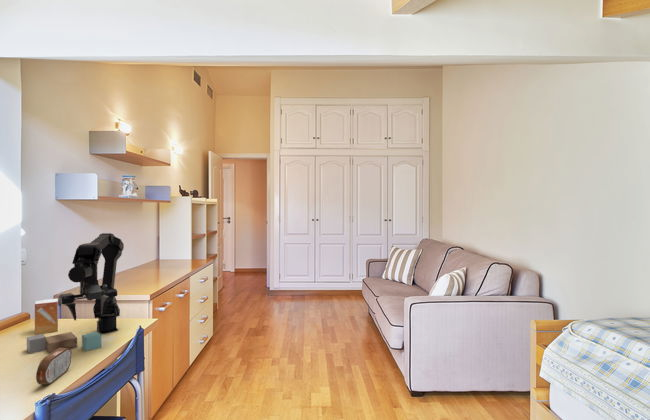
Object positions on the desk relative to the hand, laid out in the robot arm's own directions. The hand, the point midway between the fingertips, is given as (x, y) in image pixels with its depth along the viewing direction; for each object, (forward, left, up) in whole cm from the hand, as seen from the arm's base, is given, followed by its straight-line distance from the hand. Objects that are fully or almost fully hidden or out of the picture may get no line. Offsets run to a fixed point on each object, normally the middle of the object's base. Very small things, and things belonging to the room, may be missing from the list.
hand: (88, 317), depth 151 cm
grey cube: (+15, -11, -12) cm, 21 cm away
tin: (+16, +21, -12) cm, 29 cm away
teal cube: (-1, +1, -12) cm, 12 cm away
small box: (+6, -33, -12) cm, 35 cm away
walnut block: (+7, -8, -12) cm, 16 cm away
